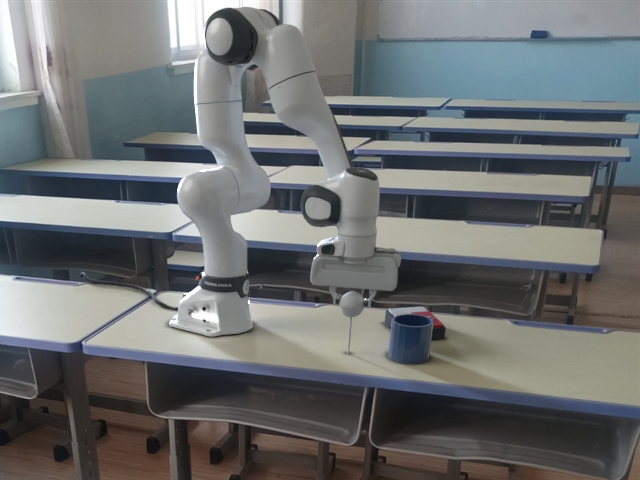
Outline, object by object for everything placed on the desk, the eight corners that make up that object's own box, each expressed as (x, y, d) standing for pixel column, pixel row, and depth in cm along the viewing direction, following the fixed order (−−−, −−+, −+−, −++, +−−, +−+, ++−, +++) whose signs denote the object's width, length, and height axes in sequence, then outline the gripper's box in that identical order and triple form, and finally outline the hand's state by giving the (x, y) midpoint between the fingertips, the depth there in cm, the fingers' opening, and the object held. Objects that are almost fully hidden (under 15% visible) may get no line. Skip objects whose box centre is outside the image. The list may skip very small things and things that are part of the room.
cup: (383, 360, 192) (387, 323, 187) (395, 347, 200) (398, 311, 195) (422, 366, 189) (427, 329, 184) (433, 353, 196) (437, 317, 191)
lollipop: (350, 347, 200) (354, 286, 192) (365, 354, 196) (371, 292, 187) (330, 352, 197) (334, 291, 189) (346, 359, 193) (351, 297, 185)
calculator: (406, 327, 201) (385, 306, 213) (403, 343, 203) (383, 322, 215) (447, 324, 202) (424, 304, 214) (444, 340, 205) (422, 319, 217)
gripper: (403, 245, 183) (397, 305, 190) (315, 240, 187) (312, 298, 195) (400, 252, 177) (394, 313, 185) (310, 246, 182) (307, 306, 190)
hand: (351, 306), depth 190 cm, fingers closed on lollipop, 6 cm apart
